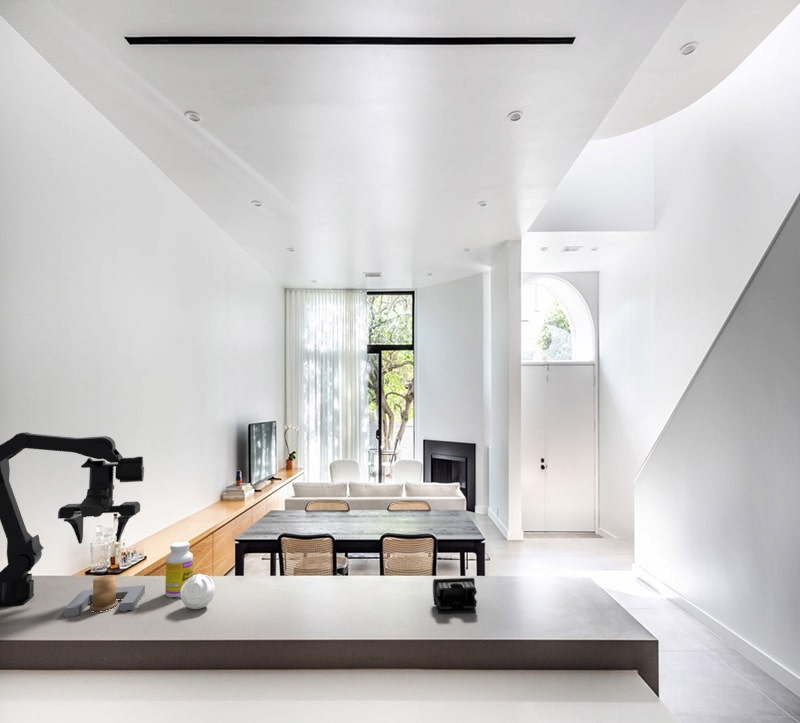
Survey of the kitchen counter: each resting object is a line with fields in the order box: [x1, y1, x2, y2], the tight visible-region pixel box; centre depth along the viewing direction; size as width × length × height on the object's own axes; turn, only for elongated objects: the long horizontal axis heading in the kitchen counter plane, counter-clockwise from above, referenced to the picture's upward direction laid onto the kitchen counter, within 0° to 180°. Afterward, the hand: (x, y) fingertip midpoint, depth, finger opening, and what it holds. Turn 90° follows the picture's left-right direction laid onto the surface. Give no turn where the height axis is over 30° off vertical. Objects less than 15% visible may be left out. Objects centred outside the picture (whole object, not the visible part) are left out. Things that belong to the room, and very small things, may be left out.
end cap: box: [432, 577, 478, 615], centre depth 131 cm, size 10×7×7 cm
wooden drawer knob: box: [89, 574, 119, 613], centre depth 133 cm, size 6×6×7 cm
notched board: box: [63, 584, 146, 618], centre depth 135 cm, size 15×12×2 cm
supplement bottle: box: [164, 541, 194, 598], centre depth 142 cm, size 7×7×13 cm
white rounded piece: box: [179, 573, 215, 610], centre depth 132 cm, size 8×8×8 cm
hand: (99, 542), depth 144 cm, fingers open, 9 cm apart
